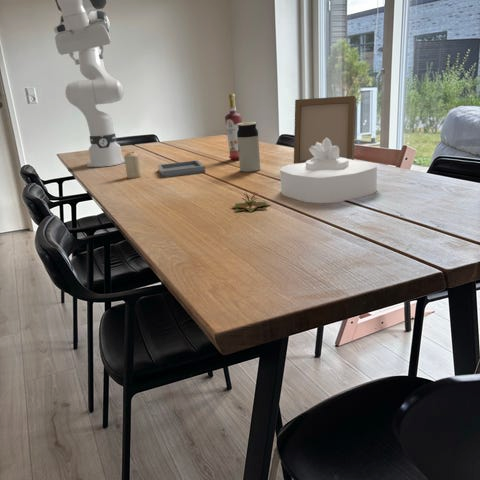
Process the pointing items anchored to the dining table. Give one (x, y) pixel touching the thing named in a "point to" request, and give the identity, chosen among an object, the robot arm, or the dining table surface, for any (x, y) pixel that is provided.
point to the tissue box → (328, 177)
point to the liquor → (233, 128)
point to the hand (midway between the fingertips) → (90, 61)
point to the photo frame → (324, 125)
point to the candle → (132, 165)
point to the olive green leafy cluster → (250, 204)
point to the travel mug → (248, 147)
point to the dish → (181, 168)
